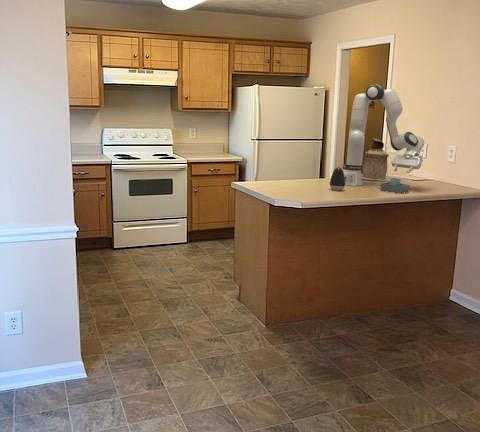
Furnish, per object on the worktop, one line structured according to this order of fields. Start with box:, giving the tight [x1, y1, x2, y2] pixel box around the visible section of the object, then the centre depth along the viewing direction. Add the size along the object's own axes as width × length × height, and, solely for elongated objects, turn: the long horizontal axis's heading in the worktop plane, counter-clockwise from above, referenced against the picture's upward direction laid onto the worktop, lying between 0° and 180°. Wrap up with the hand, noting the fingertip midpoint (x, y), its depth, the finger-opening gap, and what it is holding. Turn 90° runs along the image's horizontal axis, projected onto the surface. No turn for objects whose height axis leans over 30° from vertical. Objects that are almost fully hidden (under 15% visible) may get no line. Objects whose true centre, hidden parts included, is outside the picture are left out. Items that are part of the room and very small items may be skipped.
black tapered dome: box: [329, 166, 346, 192], centre depth 344 cm, size 10×10×15 cm
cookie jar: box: [362, 137, 391, 182], centre depth 407 cm, size 25×25×32 cm
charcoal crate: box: [379, 181, 410, 194], centre depth 349 cm, size 12×15×5 cm
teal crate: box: [389, 177, 402, 186], centre depth 349 cm, size 6×5×8 cm
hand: (401, 171), depth 352 cm, fingers open, 8 cm apart
